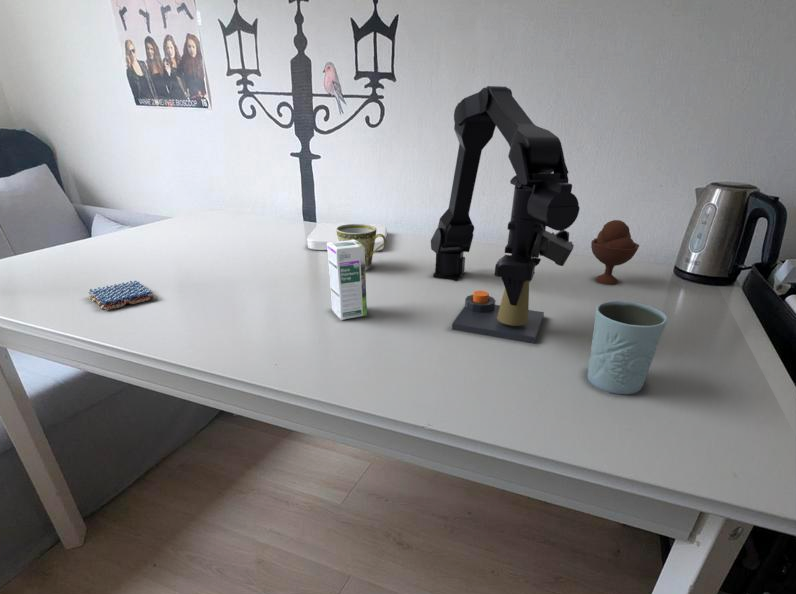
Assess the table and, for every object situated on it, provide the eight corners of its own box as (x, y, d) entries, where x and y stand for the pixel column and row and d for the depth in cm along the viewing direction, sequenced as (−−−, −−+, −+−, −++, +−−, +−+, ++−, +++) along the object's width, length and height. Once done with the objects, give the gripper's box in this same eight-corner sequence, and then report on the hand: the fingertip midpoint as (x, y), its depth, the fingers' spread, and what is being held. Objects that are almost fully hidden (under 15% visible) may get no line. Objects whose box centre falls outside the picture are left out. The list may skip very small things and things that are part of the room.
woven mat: (139, 286, 110) (137, 278, 109) (157, 300, 104) (154, 290, 103) (88, 297, 104) (85, 288, 103) (103, 312, 98) (100, 303, 97)
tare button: (471, 302, 100) (471, 294, 99) (474, 297, 103) (475, 289, 102) (486, 305, 99) (487, 296, 98) (489, 299, 102) (490, 291, 101)
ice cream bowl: (633, 290, 117) (650, 226, 109) (585, 285, 118) (598, 223, 111) (626, 276, 126) (641, 216, 118) (581, 272, 127) (593, 213, 120)
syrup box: (341, 321, 97) (336, 248, 89) (331, 310, 101) (326, 240, 94) (367, 316, 99) (365, 245, 92) (356, 306, 104) (354, 237, 96)
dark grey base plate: (451, 329, 95) (452, 315, 93) (468, 305, 106) (469, 292, 104) (534, 344, 90) (536, 329, 89) (543, 317, 101) (545, 303, 100)
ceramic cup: (331, 270, 124) (328, 230, 119) (350, 259, 132) (348, 222, 127) (377, 277, 120) (376, 236, 115) (393, 266, 128) (393, 227, 123)
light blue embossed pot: (639, 404, 74) (661, 332, 67) (573, 384, 78) (588, 315, 72) (650, 376, 81) (672, 309, 75) (589, 359, 85) (605, 295, 79)
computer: (382, 252, 138) (382, 242, 137) (305, 250, 138) (304, 240, 137) (387, 233, 157) (387, 224, 156) (319, 231, 157) (319, 222, 156)
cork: (530, 315, 96) (539, 261, 90) (525, 327, 91) (535, 270, 85) (500, 310, 97) (507, 257, 92) (494, 322, 93) (501, 266, 87)
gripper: (571, 234, 74) (553, 327, 82) (579, 210, 89) (563, 290, 97) (499, 226, 77) (489, 316, 86) (519, 204, 92) (508, 283, 101)
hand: (515, 300), depth 92 cm, fingers closed on cork, 4 cm apart
